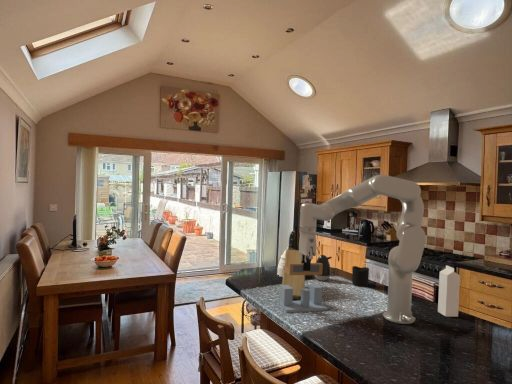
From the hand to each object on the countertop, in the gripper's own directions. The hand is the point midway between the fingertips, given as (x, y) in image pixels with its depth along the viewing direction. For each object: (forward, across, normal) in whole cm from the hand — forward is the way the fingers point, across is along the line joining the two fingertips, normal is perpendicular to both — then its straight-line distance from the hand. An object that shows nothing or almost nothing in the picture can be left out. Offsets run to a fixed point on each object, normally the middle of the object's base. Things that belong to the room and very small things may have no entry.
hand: (305, 269), depth 154 cm
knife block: (+18, +26, -5) cm, 32 cm away
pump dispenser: (+18, +45, -30) cm, 57 cm away
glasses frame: (+2, +4, 0) cm, 4 cm away
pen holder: (+18, +32, -48) cm, 61 cm away
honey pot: (+19, +58, -12) cm, 62 cm away
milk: (+17, -16, -64) cm, 69 cm away
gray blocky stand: (+18, +2, 0) cm, 18 cm away
